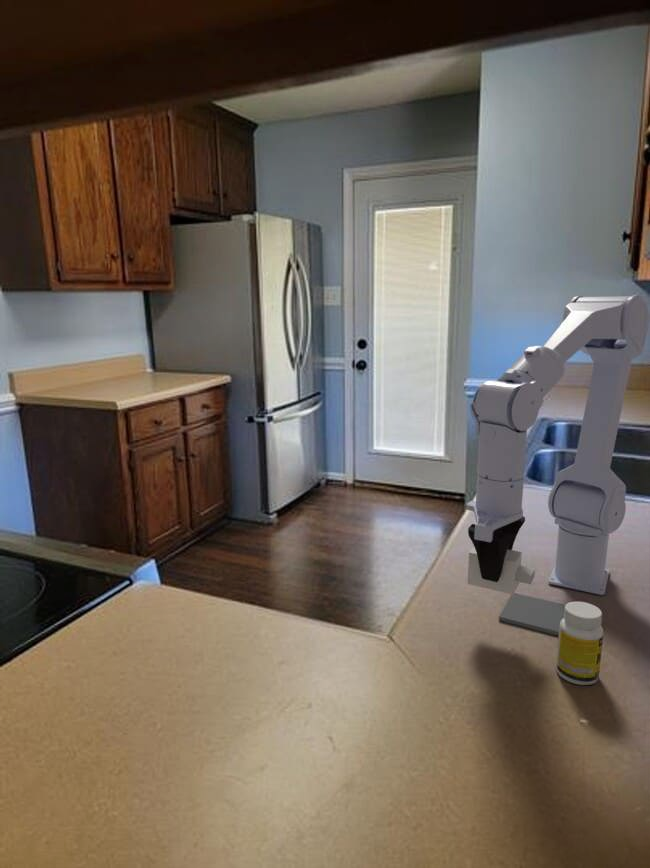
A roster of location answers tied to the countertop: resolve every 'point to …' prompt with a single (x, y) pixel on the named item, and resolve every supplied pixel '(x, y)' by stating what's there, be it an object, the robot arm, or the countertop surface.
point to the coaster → (533, 613)
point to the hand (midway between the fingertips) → (494, 573)
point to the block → (509, 575)
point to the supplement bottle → (580, 643)
